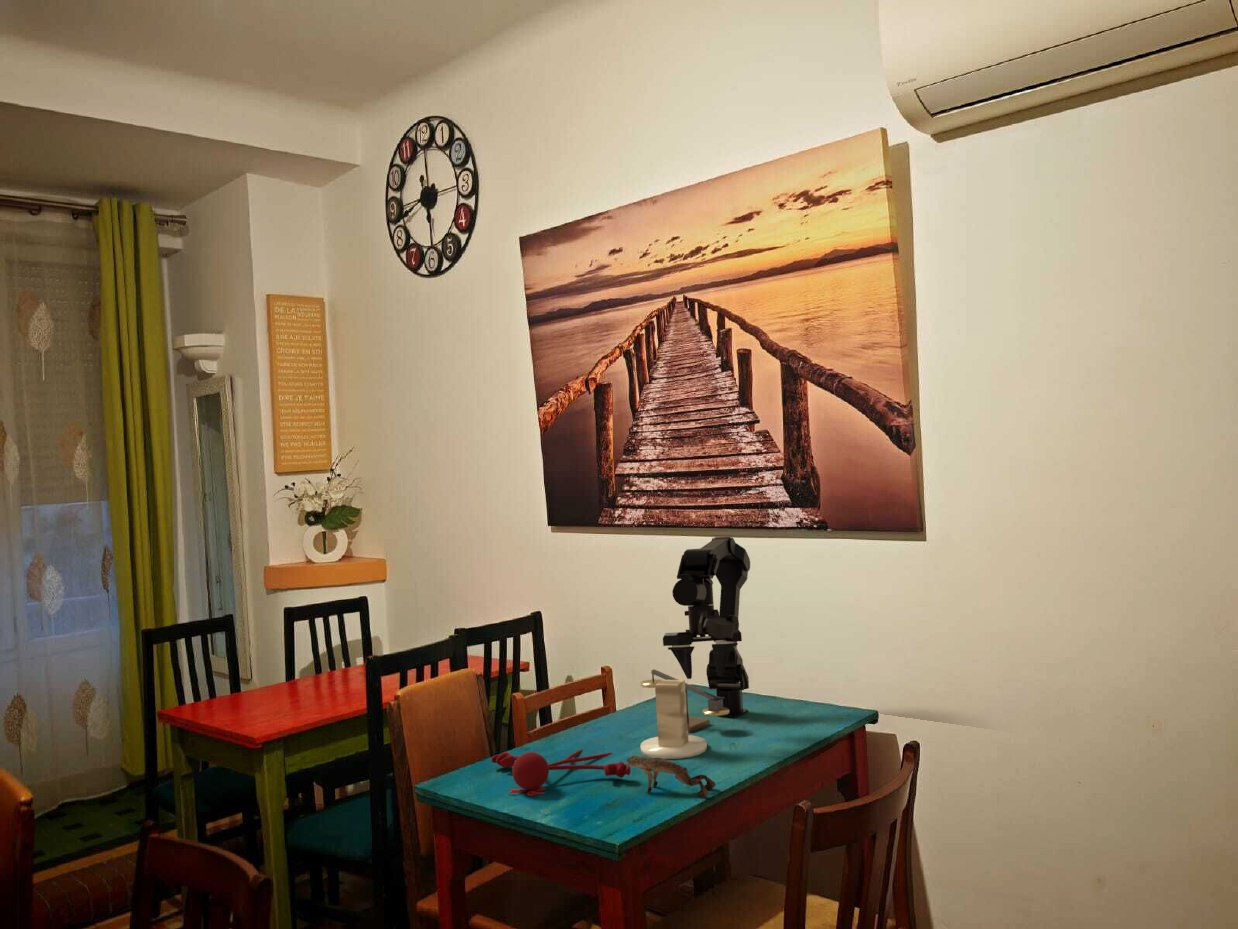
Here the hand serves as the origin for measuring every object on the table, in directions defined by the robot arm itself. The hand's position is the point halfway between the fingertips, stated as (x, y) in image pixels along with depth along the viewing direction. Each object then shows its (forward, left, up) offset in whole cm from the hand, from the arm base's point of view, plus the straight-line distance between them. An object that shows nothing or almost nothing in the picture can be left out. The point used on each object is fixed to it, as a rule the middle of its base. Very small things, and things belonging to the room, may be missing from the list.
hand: (705, 677), depth 225 cm
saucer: (+11, -1, -13) cm, 17 cm away
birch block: (+11, -1, -12) cm, 16 cm away
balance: (-5, -10, -13) cm, 17 cm away
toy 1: (+34, -11, -14) cm, 39 cm away
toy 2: (+33, +14, -14) cm, 38 cm away
